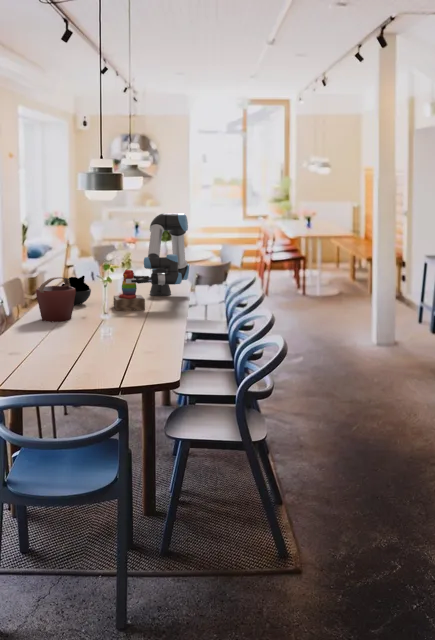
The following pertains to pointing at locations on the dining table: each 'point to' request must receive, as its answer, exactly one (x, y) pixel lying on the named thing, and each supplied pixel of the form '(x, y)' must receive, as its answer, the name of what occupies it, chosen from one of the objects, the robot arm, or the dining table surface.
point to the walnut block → (129, 303)
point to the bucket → (56, 301)
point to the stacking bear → (128, 286)
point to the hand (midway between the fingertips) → (124, 279)
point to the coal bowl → (79, 289)
